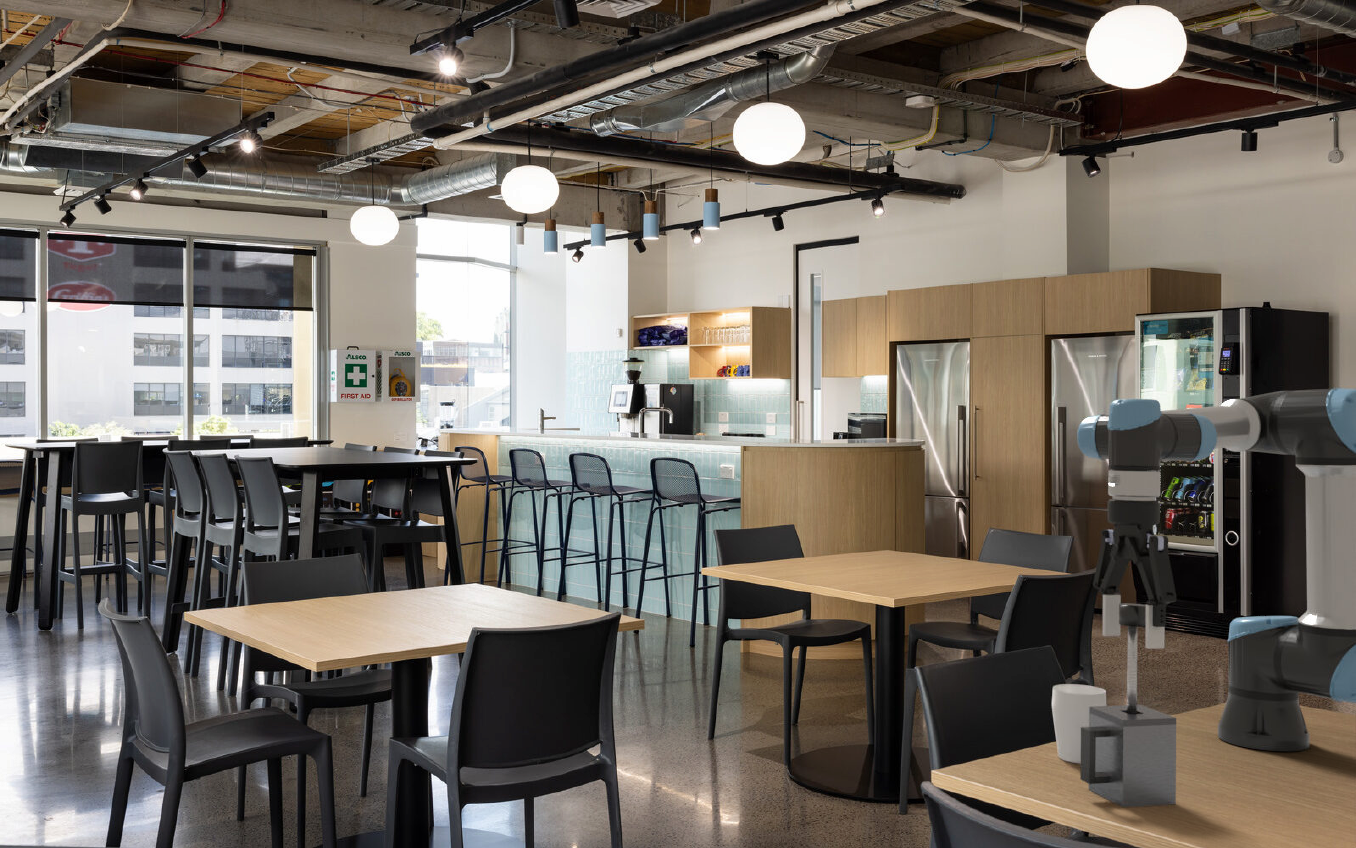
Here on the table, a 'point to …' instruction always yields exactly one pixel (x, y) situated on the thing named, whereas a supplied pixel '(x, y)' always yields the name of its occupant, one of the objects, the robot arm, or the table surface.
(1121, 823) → the table surface
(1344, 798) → the table surface
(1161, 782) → the grey box with handle
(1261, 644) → the robot arm
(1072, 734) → the cup
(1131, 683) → the plunger
